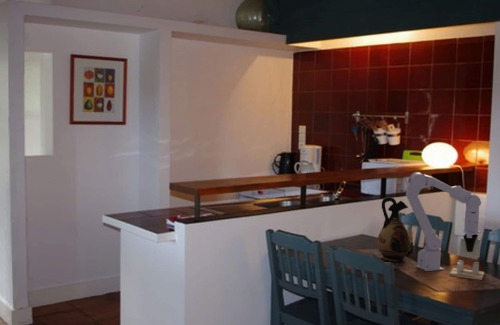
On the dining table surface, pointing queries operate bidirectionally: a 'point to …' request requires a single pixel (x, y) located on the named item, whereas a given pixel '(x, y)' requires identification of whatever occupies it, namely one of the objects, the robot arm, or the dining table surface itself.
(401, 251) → the ceramic jug
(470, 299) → the dining table surface
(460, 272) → the hinge bracket
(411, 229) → the ammunition clip
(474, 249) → the door
